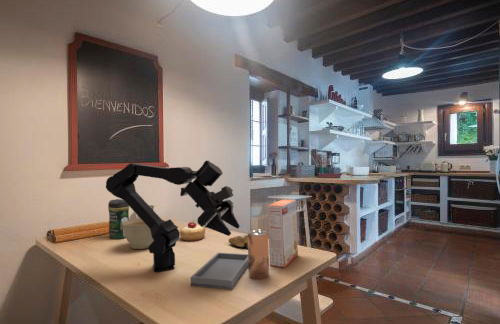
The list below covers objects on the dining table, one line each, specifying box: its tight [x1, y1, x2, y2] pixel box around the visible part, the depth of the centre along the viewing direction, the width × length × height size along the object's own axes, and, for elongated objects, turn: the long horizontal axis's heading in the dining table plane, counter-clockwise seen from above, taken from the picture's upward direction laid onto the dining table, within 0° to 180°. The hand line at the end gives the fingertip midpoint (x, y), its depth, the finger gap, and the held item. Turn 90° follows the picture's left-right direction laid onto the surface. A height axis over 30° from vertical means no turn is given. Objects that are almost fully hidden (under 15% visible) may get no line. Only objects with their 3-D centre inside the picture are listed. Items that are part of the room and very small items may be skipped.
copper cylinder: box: [247, 228, 270, 281], centre depth 87 cm, size 6×6×14 cm
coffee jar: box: [107, 198, 130, 240], centre depth 137 cm, size 10×8×19 cm
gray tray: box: [190, 252, 248, 291], centre depth 90 cm, size 13×22×2 cm, turn 166°
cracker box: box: [267, 198, 299, 269], centre depth 100 cm, size 14×6×21 cm, turn 152°
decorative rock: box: [228, 234, 248, 249], centre depth 119 cm, size 11×4×15 cm
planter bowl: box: [122, 218, 154, 250], centre depth 121 cm, size 16×16×11 cm
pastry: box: [179, 219, 206, 242], centre depth 132 cm, size 12×12×9 cm
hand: (234, 231), depth 89 cm, fingers open, 9 cm apart
